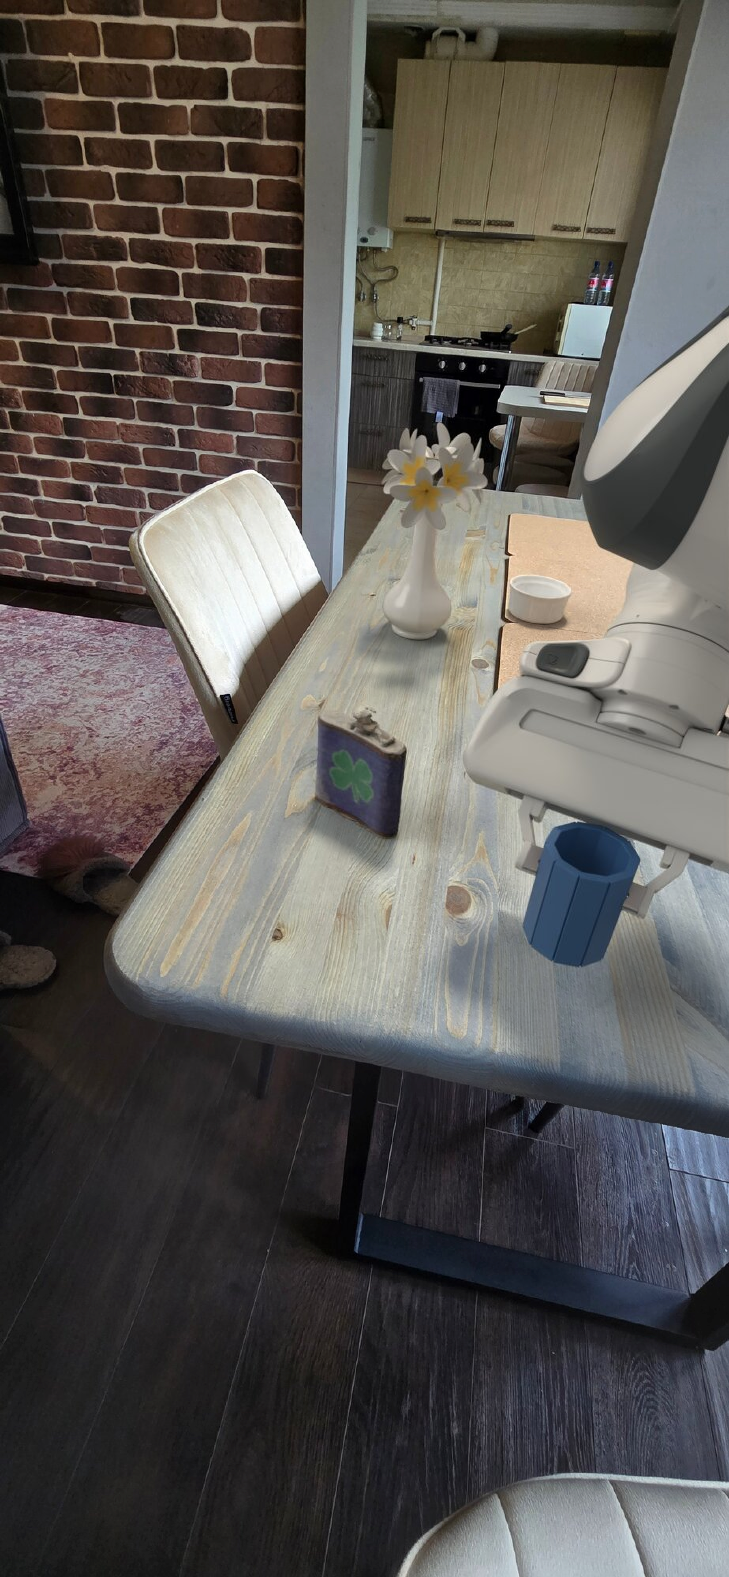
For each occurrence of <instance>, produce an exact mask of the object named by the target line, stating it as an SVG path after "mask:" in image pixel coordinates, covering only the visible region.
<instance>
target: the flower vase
mask: <svg viewBox="0 0 729 1577" xmlns="http://www.w3.org/2000/svg"><path fill="white" fill-rule="evenodd" d="M417 433H418V428H416V429H414V431H413V432H412V434H411V437H410V430H409V428H407V427H406V428H405V429H404V430H403V432H402V434H401V437H400V440H399V449H391V450H389V451H388V453H387V458H386V459H385V460H384V461H383V463H382V466H381V468H382V469H383V470H390V471H388V472H387V473H386V475H385V476H384V478H383V479H382V481H381V485H384V486H383V493H384V494H386V495H390V496H391V497H392V498H394V499H395V500H396V501H400V502H403V503H408V502H409V503H408V504H407V505H406V506H405V508H404V510H403V511H402V514H401V517H400V525H401V527H403V528H404V529H409V528H412V527H413V526H414V527H413V534H412V535H413V537H412V542H411V548H410V554H409V558H408V562H407V566H406V568H405V570H404V572H403V574H402V576H401V577H400V579H399V580H398V581H397V582H395V583H394V584H393V585H392V586H391V587H390V588H389V589H388V590H387V591H386V593H385V594H384V597H383V600H382V604H381V610H382V612H383V615H384V617H385V618H386V620H387V621H388V622H389V623H390V624H391V630H392V631H393V632H394V634H396V635H397V636H399V637H401V638H404V639H408V640H414V641H415V640H418V641H420V640H428V639H431V638H433V637H434V636H436V635H437V632H438V629H440V628H441V627H443V626H444V625H445V624H446V623H447V622H448V620H449V619H450V618H451V616H452V611H453V610H452V608H453V607H452V602H451V599H450V597H449V595H448V593H447V591H446V590H445V589H444V588H443V587H442V585H441V583H440V580H439V577H438V574H437V568H436V553H437V541H438V531H443V530H445V529H446V526H447V520H446V517H445V514H444V512H443V510H442V509H443V505H445V504H449V503H452V502H454V500H456V502H457V504H458V506H459V508H460V509H461V510H462V511H463V512H465V513H468V512H470V511H471V509H472V500H471V496H470V493H469V491H468V490H471V491H472V492H473V494H474V496H475V497H476V499H477V501H478V503H479V504H480V505H482V504H484V503H485V502H484V501H485V497H484V492H483V489H484V488H485V487H487V486H488V478H487V477H486V476H485V474H484V467H485V463H484V462H485V461H484V458H480V453H481V448H482V447H481V446H482V437H480V438H479V441H478V443H477V445H476V448H475V450H474V446H473V444H472V442H471V440H472V439H471V436H470V435H469V434H468V433H466V432H462V433H460V434H458V435H457V436H455V437H454V438H453V440H451V437H450V433H449V430H448V428H447V427H446V426H445V424H443V423H442V422H437V424H436V433H437V438H438V444H437V443H435V444H433V445H431V448H430V447H429V446H428V441H427V437H426V436H425V435H422V434H421V435H419V436H418V437H417V435H418V434H417ZM440 469H441V470H442V477H441V478H439V480H435V474H437V473H438V472H439V470H440Z"/></svg>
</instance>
